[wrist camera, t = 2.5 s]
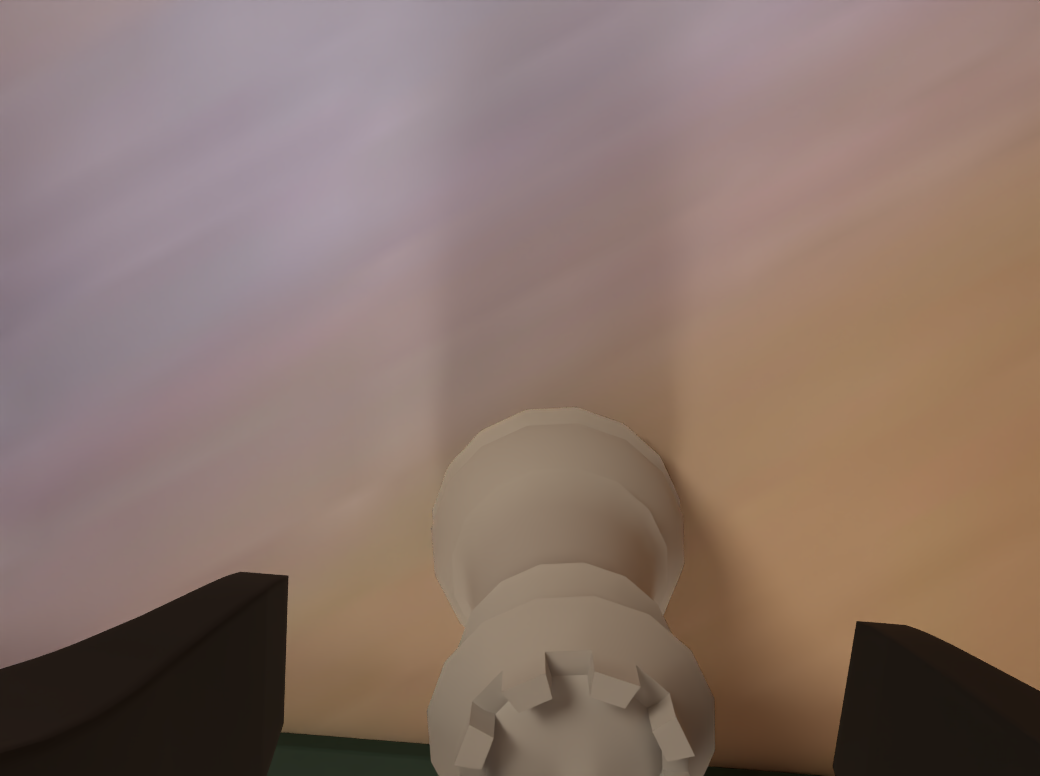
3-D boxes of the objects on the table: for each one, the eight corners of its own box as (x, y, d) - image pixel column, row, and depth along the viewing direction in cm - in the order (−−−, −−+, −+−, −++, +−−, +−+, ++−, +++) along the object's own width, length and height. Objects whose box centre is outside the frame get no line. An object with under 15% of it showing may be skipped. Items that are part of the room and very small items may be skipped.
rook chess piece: (701, 601, 18) (828, 920, 10) (469, 654, 19) (423, 1003, 11) (648, 373, 17) (744, 534, 10) (405, 433, 18) (304, 636, 10)
